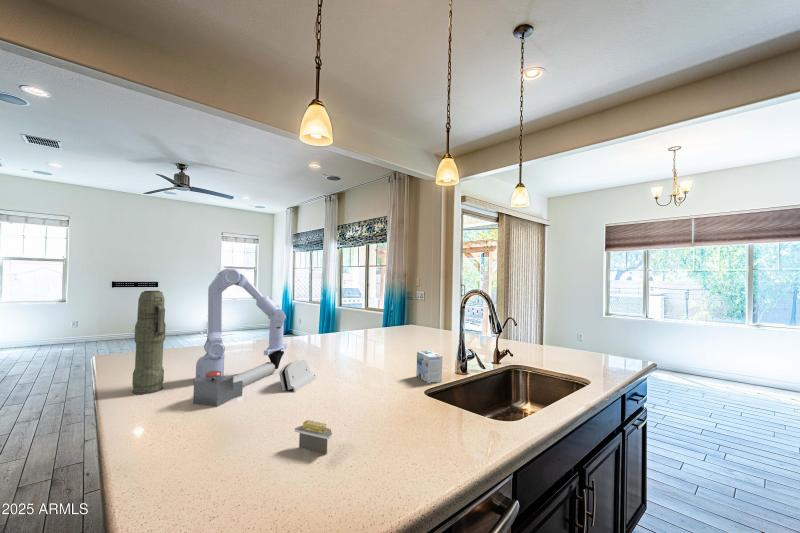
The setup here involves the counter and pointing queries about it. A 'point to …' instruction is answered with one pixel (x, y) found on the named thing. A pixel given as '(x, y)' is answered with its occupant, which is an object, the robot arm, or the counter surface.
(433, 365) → the light bulb box
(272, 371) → the tube
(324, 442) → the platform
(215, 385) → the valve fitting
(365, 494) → the counter surface
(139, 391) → the thermos
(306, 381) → the white rounded casing
